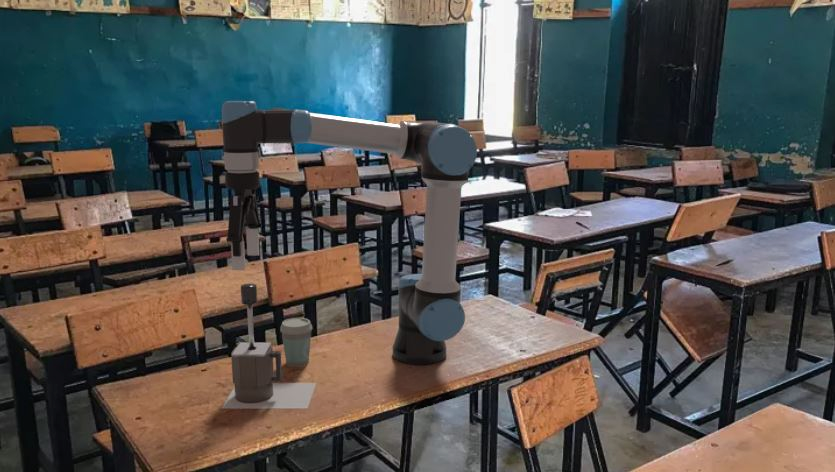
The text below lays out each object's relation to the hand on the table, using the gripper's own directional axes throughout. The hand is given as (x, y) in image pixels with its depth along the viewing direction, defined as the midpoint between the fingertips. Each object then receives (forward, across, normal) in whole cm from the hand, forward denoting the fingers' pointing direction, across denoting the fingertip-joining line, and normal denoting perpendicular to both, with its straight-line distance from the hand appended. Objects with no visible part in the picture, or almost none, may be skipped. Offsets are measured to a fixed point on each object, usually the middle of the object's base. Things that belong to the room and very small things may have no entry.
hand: (246, 262), depth 158 cm
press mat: (+34, 0, +4) cm, 34 cm away
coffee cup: (+34, -20, +7) cm, 40 cm away
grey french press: (+33, 0, +1) cm, 33 cm away
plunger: (+22, 0, 0) cm, 22 cm away
